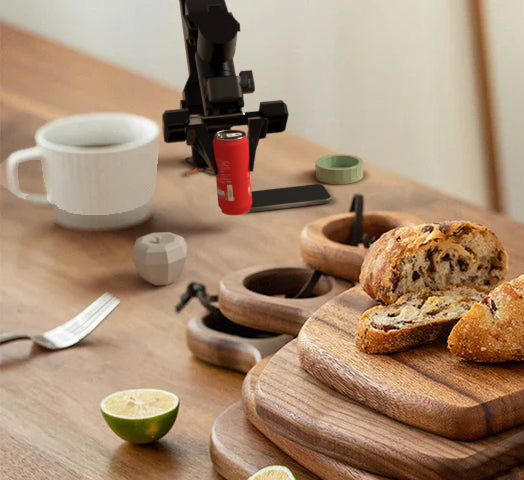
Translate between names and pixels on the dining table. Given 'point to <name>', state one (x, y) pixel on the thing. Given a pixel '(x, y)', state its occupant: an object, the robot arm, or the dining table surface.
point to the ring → (339, 169)
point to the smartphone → (289, 197)
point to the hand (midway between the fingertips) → (234, 172)
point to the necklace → (198, 170)
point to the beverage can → (233, 172)
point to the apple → (160, 257)
